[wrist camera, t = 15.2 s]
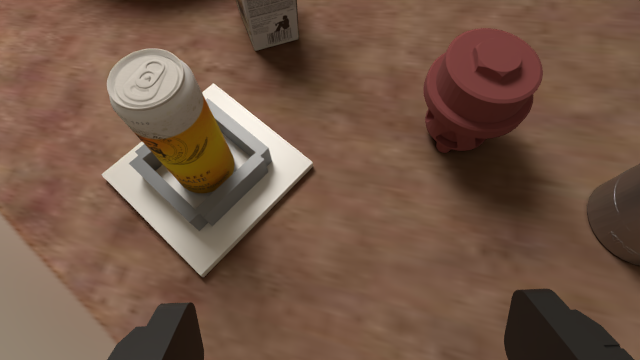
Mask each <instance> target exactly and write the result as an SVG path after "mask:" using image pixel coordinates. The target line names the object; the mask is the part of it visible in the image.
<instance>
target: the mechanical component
mask: <svg viewBox="0 0 640 360" xmlns="http://www.w3.org/2000/svg"><path fill="white" fill-rule="evenodd" d="M542 75H543V70H542V65H541V61H540V59H539V57H538V55H537V54H536V52H535V51H534V50H533V49H532V48H531V47H530V46H529V45H528V44H527V43H526V42H525V41H523V40H522V39H520V38H519V37H517V36H515V35H513V34H511V33H508V32H505V31H502V30H497V29H490V28H481V29H474V30H470V31H467V32H465V33H462V34H461V35H459V36H457V37H456V38H455V39H454V40H453V41H452V42H451V44H450V45H449V47H448V49H447V51H446V53H444V54H442V55H441V56H440V57H438V58H437V59H436V60H435V61H434V62H433V64H432V65H431V67H430V69H429V72H428V74H427V76H426V79H425V82H424V97H425V101H426V104H427V106H428V108H429V109H428V111H427V113H426V117H425V122H426V127H427V130H428V132H429V133H430V135H431V136H432V137H433V139H434V140H435V141H437V143H436V147H437V149H438V150H439V151H440V152H442V153H447V152H449V151H450V150H451V149H453V150H458V151H466V150H471V149H474V148H476V147H478V146H479V145H481V144H482V143H483V142H484V141H485V140H486V138H495V137H499V136H502V135H505V134H507V133H509V132H511V131H512V130H513V129H515V128H516V127H517V126H518V125H519V124H520V123H521V122H522V121H523V120H524V119H525V117H526V116H527V115H528V113H529V112H530V109H531V107H532V103H533V94H534V92H535V91H536V90H537V89H538V87H539V85H540V83H541V81H542Z"/></svg>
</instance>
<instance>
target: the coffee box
mask: <svg viewBox="0 0 640 360" xmlns="http://www.w3.org/2000/svg"><path fill="white" fill-rule="evenodd" d="M236 2H237V6H238V8H239V11H240V14H241V16H242V19H243V21H244V24H245V27H246V29H247V32H248V34H249V37H250V40H251V42H252V45H253V48H254V50H255V51H257V50H261V49H264V48H268V47H272V46H275V45H279V44H283V43H286V42H290V41H293V40H297V39H299V31H298V16H297V0H236Z"/></svg>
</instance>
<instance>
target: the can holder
mask: <svg viewBox="0 0 640 360" xmlns="http://www.w3.org/2000/svg"><path fill="white" fill-rule="evenodd" d="M202 93H203V95H204V98H205V100H206V102H207V104H208V106H209V108H210V110H211V112H212V114H213V116H214V118H215V120H216V122H217V124H218V126H219V128H220V130H221V132H222V134H223V136H224V138H225V140H226V142H227V144H228V147H229V149H230V151H231V153H232V155H233V157H234V162H235V166H234V171H233V174H232V175H231V176H230V177H229V178H228V179H227V180H226V181H225V182H224V183H223V184H221V185H220V186H219V187H218V188H217V189H216V190H215V191H213V192H210V193H203V194H201V193H194V192H191V191H189V190H187V189H185V188H184V187H183V186H182V185H181V184H180V183H179V182H178V180H177V179H176V178H175V177H174V176H173V175H172V174H171V173H170V172H169V171H168V169H167V168H166V167H165V166H164V165H163V164H162V163H161V162H160V161H159V159H158V158H157V157H156V156H155V155H154V154H153V153H152V152H151V151H150V150H149V148H148V147H147V146H146V145H145V144H144V143H143V142H141V143H140V144H138V145H137V146H136V147H135V148H133V149H132V150H131V151H130V152H129V153H127V154H126V155H125V156H124V157H122V158H121V159H120V160H119V161H118V162H116V163H115V164H114V165H113V166H111V167H110V168H109V169H108V170H106V171H105V172H104V173H103V174H102V176H103V177H104V178H105V179H106V180H107V181H108V182H109V183H110V184H111V185H112V186H113V187H114V188H115V189H116V190H117V191H118V192H119V193H120V194H121V195H122V196H123V197H124V198H125V199H126V200H127V201H128V202H129V203H130V204H131V205H132V206H133V207H134V208H135V209H136V210H137V211H138V213H139V214H140V215H141V216H142V217H143V218H144V219H145V220H146V221H147V222H148V223H149V224H150V225H151V226H152V227H153V228H154V229H155V230H156V231H157V232H158V233H159V234H160V235H161V236H162V237H163V238H164V239H165V240H166V241H167V242H168V243H169V244H170V245H171V246H172V247H173V248H174V249H175V250H176V251H177V252H178V253H179V254H180V255H181V256H182V257H183V258H184V259H185V260H186V261H187V262H188V263H189V264H190V265H191V267H192V268H193V269H194V270H195V271H196V272H197V273H198V274H199V275H200V276H202V277H205V276H206V275H207V274H208V273H209V272H210V271H211V270H212V268H213V267H214V266H215V265H216V264H217V263H218V262H219V261H220V260H221V259H222V258H223V257H224V256H225V255H226V254H227V253H228V252H229V251H230V250H231V249H232V248H233V247H234V246H235V245H236V244H237V243H238V242H239V241H240V240H241V239H242V238H243V237H244V236H245V235H246V234H247V233H248V232H249V231H250V230H251V229H252V228H253V227H254V226H255V225H256V224H257V223H258V222H259V221H260V220H261V219H262V218H263V217H264V216H265V215H266V214H267V213H268V212H269V211H270V210H271V209H272V208H273V207H274V206H275V205H276V204H277V203H278V202H279V201H280V200H281V199H282V197H283V196H284V195H285V194H286V193H287V192H288V191H289V190H290V189H291V188H292V187H293V186H294V185H295V184H296V183H297V182H298V181H299V180H300V179H301V178H302V177H303V176H304V175H305V174H306V173H307V172H308V171H309V170H310V169H311V168H312V167H313V162H312V161H311V160H309V159H308V158H307V157H305V156H304V155H303V154H302V153H300V152H299V151H298V150H297V149H295V148H294V147H293V146H292V145H290V144H289V143H288V142H287V141H285V140H284V139H283V138H282V137H280V136H279V135H278V134H277V133H275V132H274V131H273V130H272V129H270V128H269V127H268V126H266V125H265V124H264V123H263V122H261V121H260V120H259V119H258V118H256V117H255V116H254V115H253V114H251V113H250V112H249V111H248V110H246V109H245V108H244V107H243V106H241V105H240V104H239V103H238V102H236V101H235V100H234V99H233V98H231V97H230V96H229V95H227V94H226V93H225V92H224V91H222V90H221V89H220V88H219V87H217V86H216V85H215V84H214V83H213V84H212V85H211V86H210V87H208V88H207V89H206V90H205V91H203V92H202Z"/></svg>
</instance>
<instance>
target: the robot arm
mask: <svg viewBox="0 0 640 360" xmlns="http://www.w3.org/2000/svg"><path fill="white" fill-rule="evenodd" d="M587 214H588V219H589V223H590V225H591V227H592V230H593V232H594V233H595V235H596V236H597V238H598V239H599V241H600V242H601V243H602V244H603V245H604V246H605V247H606V248H607V249H608V250H609V251H611V252H612V253H613V254H614V255H616V256H618V257H619V258H621V259H623V260H625V261H627V262H630V263H632V264H635V265H640V164H638V165H636V166H635V167H633V168H631V169H629V170H627V171H625V172H623V173H622V174H620V175H618V176H616V177H614V178H613V179H611V180H609V181H607V182H605V183H604V184H602V185H600V186H599V187H598V188H596V189H595V190H594V191H593V193H592V194H591V196H590V198H589V201H588V207H587ZM504 345H505V351H506V355H507V357H508V360H634V359H633V358H632V357H631V356H630V355H629V354H628V353H627V352H626V351H625V350H624V349H621V348H620V346H619V345H620V344H619V343H618V342H617V341H616V340H615V339H614V338H613V337H612V336H611V335H610V334H609V333H608V332H607V331H606V330H605V329H604V328H603V327H602V326H601V325H599V324H598V323H596V322H595V321H593V320H592V319H590V318H589V317H587V316H586V315H584V314H582V313H581V312H579V311H578V310H570V309H569V307H568V306H567V305H566V304H565V303H564V302H563V301H562V300H561V299H560V298H559V297H558V296H557V294H556V293H555V292H553V291H552V290H550V289H529V290H516V291H515V292H514V293H513V296H512V300H511V305H510V310H509V315H508V320H507V325H506V330H505V335H504ZM108 360H204V348H203V343H202V338H201V334H200V329H199V324H198V319H197V314H196V310H195V306H194V304H193V303H168V304H160V305H159V306H158V307H157V309H156V310H155V312H154V314H153V316H152V317H151V319H150V321H149V323H148V324H147V326H145V327H136V328H135V329H133V330H132V331H131V332H130V333H129V334H128V335H127V336H126V337H125V338H123V339H122V340H121V341H120V342H119V343H118V344H117V345H116V347H115V348H114V350H113V352H112V353H111V355H110V356H109V358H108Z"/></svg>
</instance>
